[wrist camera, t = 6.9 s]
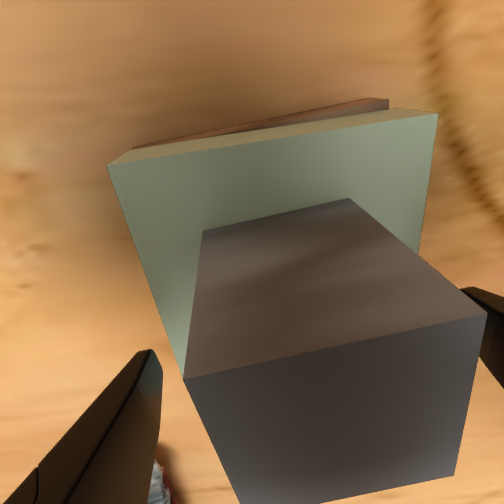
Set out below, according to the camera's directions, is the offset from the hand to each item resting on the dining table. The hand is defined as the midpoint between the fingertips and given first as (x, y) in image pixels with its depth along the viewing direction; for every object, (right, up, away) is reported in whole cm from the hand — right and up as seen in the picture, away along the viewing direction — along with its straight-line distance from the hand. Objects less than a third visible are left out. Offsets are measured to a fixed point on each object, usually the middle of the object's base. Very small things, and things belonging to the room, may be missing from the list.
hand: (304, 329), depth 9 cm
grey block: (0, +1, +2) cm, 3 cm away
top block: (0, +2, +5) cm, 5 cm away
